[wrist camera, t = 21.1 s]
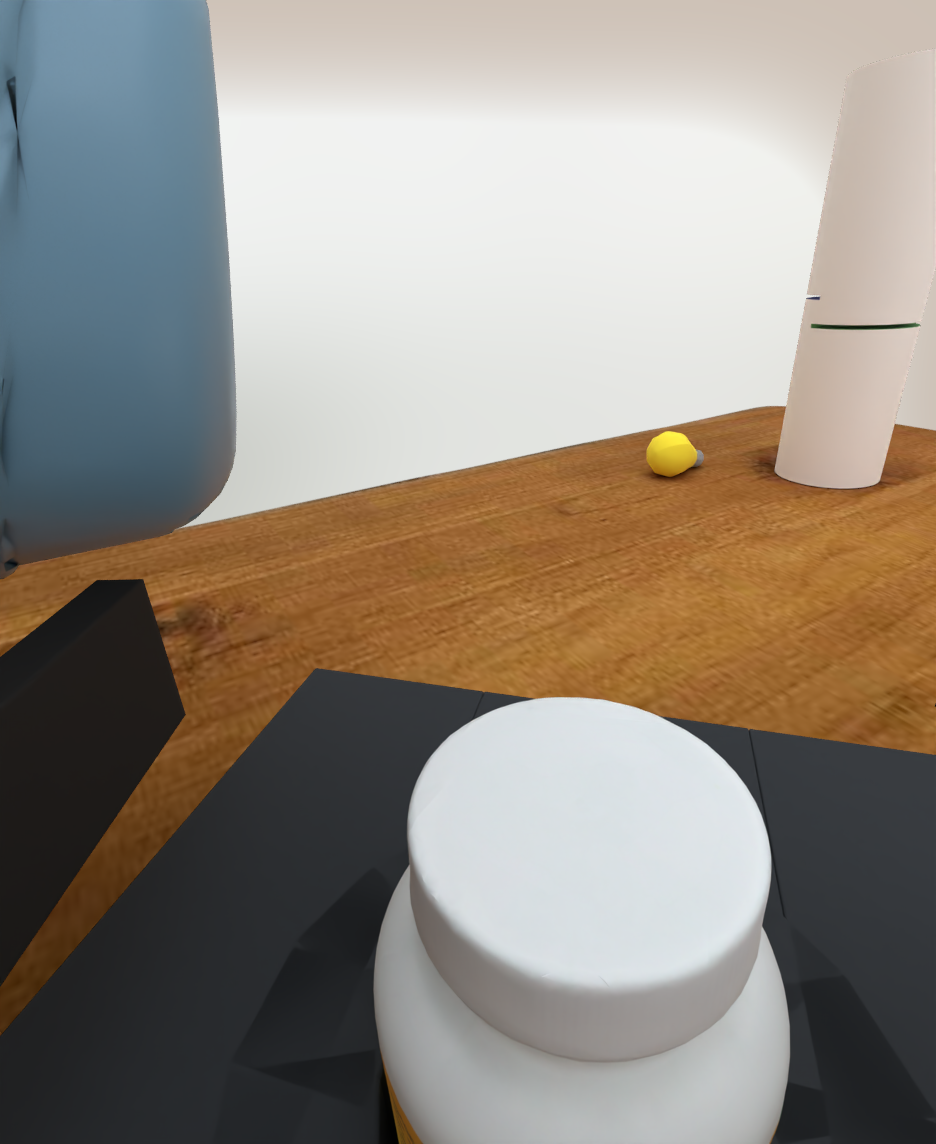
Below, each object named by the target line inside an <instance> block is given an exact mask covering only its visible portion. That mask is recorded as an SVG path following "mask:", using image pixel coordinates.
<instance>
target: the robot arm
mask: <svg viewBox="0 0 936 1144" xmlns="http://www.w3.org/2000/svg"><path fill="white" fill-rule="evenodd" d="M229 268H230V267H229V252H228V239H227V225H226V212H225V198H224V185H223V172H222V159H221V146H220V132H219V118H218V106H217V95H216V84H215V74H214V63H213V52H212V42H211V31H210V20H209V10H208V6H207V3H206V0H0V579H4V578H6V577H7V576H9V575H11V574H12V573H14V572H15V570H16V569H17V567H18V566H19V565H23V564H28V563H33V562H38V561H42V560H47V559H52V558H57V557H62V556H67V555H72V554H77V553H82V552H87V551H91V550H96V549H101V548H106V547H111V546H116V545H121V544H126V543H131V542H136V541H140V540H145V539H150V538H155V537H160V536H163V535H166V534H169V533H172V532H173V530H174V529H177V528H179V527H182V526H184V525H186V524H188V523H189V522H191V521H192V520H194V519H196V518H197V517H198V516H199V515H200V514H201V513H202V512H203V511H204V510H205V509H206V508H207V507H208V506H209V505H210V504H211V503H212V502H213V501H214V500H215V499H216V498H217V496H218V495H219V494H220V493H221V491H222V490H223V488H224V486H225V483H226V482H227V481H228V478H229V475H230V473H231V470H232V467H233V462H234V457H235V452H236V384H235V361H234V338H233V320H232V302H231V285H230V269H229ZM935 707H936V704H935ZM185 715H186V714H185V711H184V708H183V705H182V702H181V699H180V695H179V692H178V689H177V686H176V683H175V679H174V676H173V673H172V670H171V667H170V663H169V660H168V657H167V654H166V651H165V648H164V644H163V641H162V638H161V635H160V632H159V628H158V625H157V622H156V619H155V616H154V613H153V609H152V606H151V603H150V600H149V597H148V593H147V590H146V587H145V584H144V581H143V579H136V580H97V581H95V582H94V583H93V584H92V585H90V586H89V587H88V588H87V589H85V590H84V591H83V592H82V593H80V594H79V595H78V596H77V597H75V598H74V599H73V600H71V601H70V602H69V603H68V604H66V605H65V606H64V607H63V608H61V609H60V610H59V611H58V612H56V613H55V614H54V615H53V616H51V617H50V618H49V619H48V620H46V621H45V622H44V623H43V624H41V625H40V626H39V627H38V628H36V629H35V630H34V631H32V632H31V633H30V634H29V635H27V636H26V637H25V638H24V639H22V640H21V641H20V642H19V643H17V644H16V645H15V646H14V647H12V648H11V649H10V650H9V651H7V652H6V653H5V654H4V655H2V656H1V657H0V986H1V985H2V983H3V982H4V980H5V979H6V977H7V976H8V975H9V973H10V972H11V970H12V969H13V967H14V966H15V964H16V963H17V961H18V960H19V958H20V957H21V955H22V954H23V952H24V951H25V950H26V948H27V947H28V945H29V944H30V942H31V941H32V939H33V938H34V936H35V935H36V933H37V932H38V930H39V929H40V928H41V926H42V925H43V923H44V922H45V920H46V919H47V917H48V916H49V914H50V913H51V911H52V910H53V908H54V907H55V906H56V904H57V903H58V901H59V900H60V898H61V897H62V895H63V894H64V892H65V891H66V889H67V888H68V886H69V885H70V883H71V882H72V881H73V879H74V878H75V876H76V875H77V873H78V872H79V870H80V869H81V867H82V866H83V864H84V863H85V861H86V860H87V859H88V857H89V856H90V854H91V853H92V851H93V850H94V848H95V847H96V845H97V844H98V842H99V841H100V839H101V838H102V837H103V835H104V834H105V832H106V831H107V829H108V828H109V826H110V825H111V823H112V822H113V820H114V819H115V817H116V816H117V814H118V813H119V812H120V810H121V809H122V807H123V806H124V804H125V803H126V801H127V800H128V798H129V797H130V795H131V794H132V792H133V791H134V790H135V788H136V787H137V785H138V784H139V782H140V781H141V779H142V778H143V776H144V775H145V773H146V772H147V770H148V769H149V767H150V766H151V765H152V763H153V762H154V760H155V759H156V757H157V756H158V754H159V753H160V751H161V750H162V748H163V747H164V745H165V744H166V743H167V741H168V740H169V738H170V737H171V735H172V734H173V732H174V731H175V729H176V728H177V726H178V725H179V723H180V722H181V721H182V719H183V718H184V716H185Z"/></svg>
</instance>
